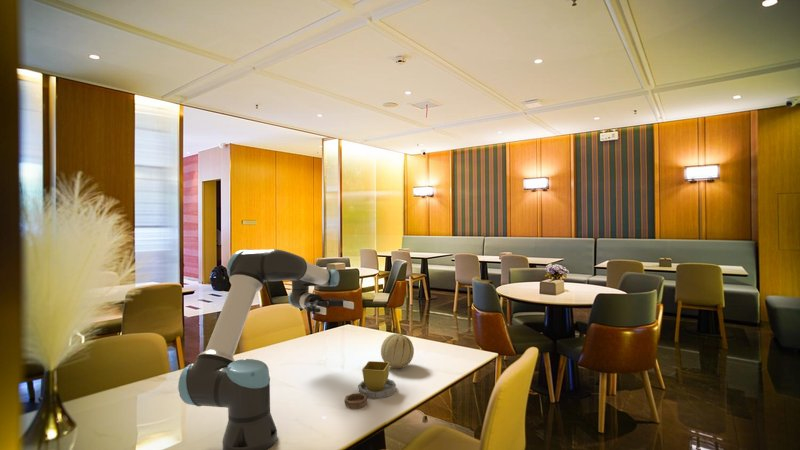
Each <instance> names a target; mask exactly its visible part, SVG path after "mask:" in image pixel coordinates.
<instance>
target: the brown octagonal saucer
mask: <svg viewBox="0 0 800 450" xmlns="http://www.w3.org/2000/svg"><path fill="white" fill-rule="evenodd" d="M367 401H368V398H367V396H366V395H364V394H362V393H359V392H358V393H357V392H354V393H350V394H348V395H346V396H345V398H344V405H345V407H346V408H348V409H351V410H352V409H353V410H356V409H361V408H365V406H366V405H367Z"/></svg>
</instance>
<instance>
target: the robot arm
mask: <svg viewBox="0 0 800 450" xmlns="http://www.w3.org/2000/svg"><path fill="white" fill-rule="evenodd" d="M226 267H227V270H226V272H227V273H226V274H227V276H228V278H229V280H228V281H229V283H230V288H229V292H228V294H227V296H226V299H225V301H224V303H223V305H222V307H221V311H220V313H219V316H218V318H217V320H216V323H215V326H214V329H213V331H212V334H211V336H210V338H209V339H208V344H207V346H206V348H205V350H204V351H202V352H201V353H199V354H198V355H197V357H196V359H195V362H193V363H190V364H188V365H187V366H184V368H183V369H182V371H181V373H180V375H179V379H178V385H177V386H178V387H177V390H178V393H179V394H178V395H179V398H180V399H181V400H182V401H183V402H184V404H186V405H189V406H190V405H191V406H196V407H216V408H227V413H228V415H227V417H228V421H227V424H226V427H225V431H224V434H223V438H222V450H268V449H270V448H272V446H273V445H274V444H275V443H276V442H277V439H278V429H277V426H276V424H275V421H274V419H273V416H272V412H271V389H270V388H271V387H270V386H271V385H270V383H271V377H270V369H269V367H268V365H267V364H266V363H265V362H264V361H261V360H258V359H253V358H246V359H237V360H235V359H234V356H235V353H236V350H237V347H238V344H239V341H240V339H241V336H242V332H243V331H244V328H245V324H246V321H247V319H248V316H249V314H250V311H251V307H252V305H253V302H254V299H255V296H256V293H257V292H259V291H261V290H262V289H263V287H264V284H265V282H280V281H291V292H290V293H289V295H288V296H287V297H288V298H287V299H288V303H289V305H291V306H292V307H295V308H297V309H298V308H299V309H303V310H306V313H307V314H311V313H312V315H316V314H318V315H319V314H320V315H324V316H326V315H327V308H331V307H343V308H346V309H350V310H354V309H355V302H353V301H349V299H348V298H344V299H343V298H340V299H339V298H328V299H327V298H326V299H325V298H323V297H322V295H320V294H316V293H314V292H310V291H309V290H310V289H309V288H310V287H336V286H338V285H339V284H340V283H339V282H340V273H339V271H338V269H332V268H331V269H326V268H324V267H321V266H319V265H316V264H314V263H311V262H308V261H306V259H305V258H304V257H302V256H301V255H298V254H295V253H292V252H289V251H286V250H283V249H275V248H274V249H273V248H271V249H270V248H269V249H250V248H248V249H240V250H238V251H237V250H236V252H234V253H233V254H232V255H231V257H230V258H229V260H228V262H227V266H226Z"/></svg>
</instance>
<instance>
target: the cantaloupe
mask: <svg viewBox="0 0 800 450" xmlns="http://www.w3.org/2000/svg"><path fill="white" fill-rule="evenodd" d="M414 349H415V348H414V345H413V342H412V340H411V339H410V338H409V337H408V336H406V335H404V334H403V333H402V331H400V332H399V333H393V334H390V335H388V336H387V337H386V338H385V339H384V340H383V341H382V345H381V347H380V355H381V358H382V360H383V361H382V362H389V363H390V365H389V367H391V368H393V369H402V368H405V367H407V366H408V365H409V364H410V363H411V362H412V360H413V359H414V355H415V353H414V352H415V350H414Z"/></svg>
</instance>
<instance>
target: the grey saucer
mask: <svg viewBox="0 0 800 450" xmlns="http://www.w3.org/2000/svg"><path fill="white" fill-rule="evenodd" d="M396 389H397V384H396V383H395V381H394V380H393V379H390V378H388V380H387V382H386V385H385V387H384V388H383V390H382V391H369V390H368V389H367V387H366V385H365V383H364V380H363V381H361V382H359V384H358V385H357V390H358V393H362V394H364V395H366V396H367V399H383V398H388V397H389V396H392V395H393V394H395V392H396Z"/></svg>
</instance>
